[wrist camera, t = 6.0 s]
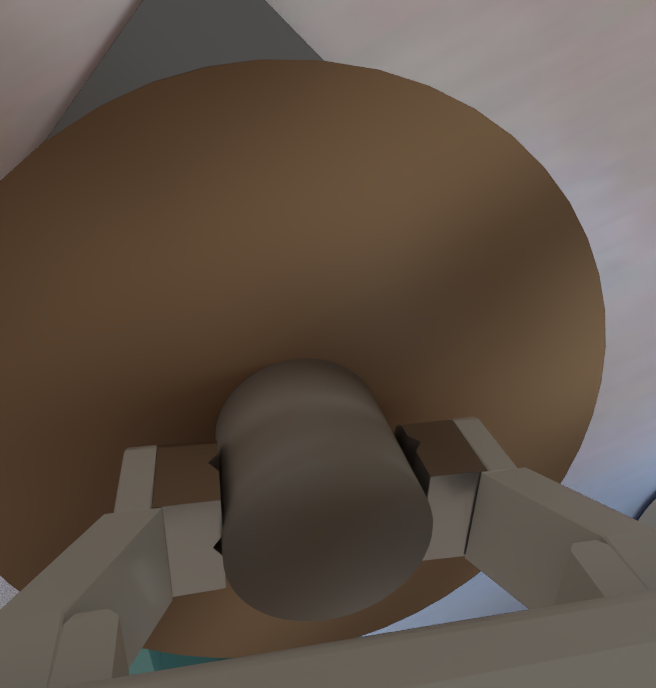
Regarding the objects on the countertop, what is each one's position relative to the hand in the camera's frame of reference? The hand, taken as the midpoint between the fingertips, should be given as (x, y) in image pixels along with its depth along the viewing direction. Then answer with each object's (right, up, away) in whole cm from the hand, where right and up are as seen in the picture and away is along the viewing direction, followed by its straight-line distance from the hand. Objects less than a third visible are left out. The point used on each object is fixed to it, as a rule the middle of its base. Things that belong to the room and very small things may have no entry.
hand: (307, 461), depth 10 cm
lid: (0, +1, +2) cm, 2 cm away
